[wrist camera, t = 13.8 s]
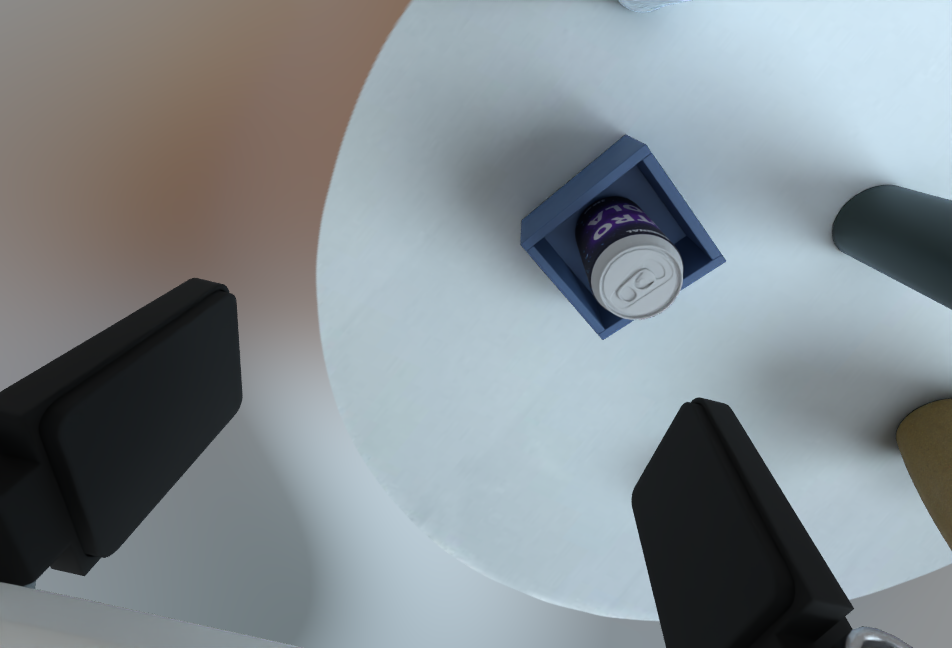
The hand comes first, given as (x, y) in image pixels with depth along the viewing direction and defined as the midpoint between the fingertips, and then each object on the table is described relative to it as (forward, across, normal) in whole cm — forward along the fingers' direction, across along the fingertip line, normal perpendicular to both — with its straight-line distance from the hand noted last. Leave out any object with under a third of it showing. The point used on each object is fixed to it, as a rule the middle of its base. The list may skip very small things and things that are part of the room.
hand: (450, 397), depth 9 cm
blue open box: (+31, -10, +3) cm, 32 cm away
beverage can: (+30, -10, +3) cm, 32 cm away
